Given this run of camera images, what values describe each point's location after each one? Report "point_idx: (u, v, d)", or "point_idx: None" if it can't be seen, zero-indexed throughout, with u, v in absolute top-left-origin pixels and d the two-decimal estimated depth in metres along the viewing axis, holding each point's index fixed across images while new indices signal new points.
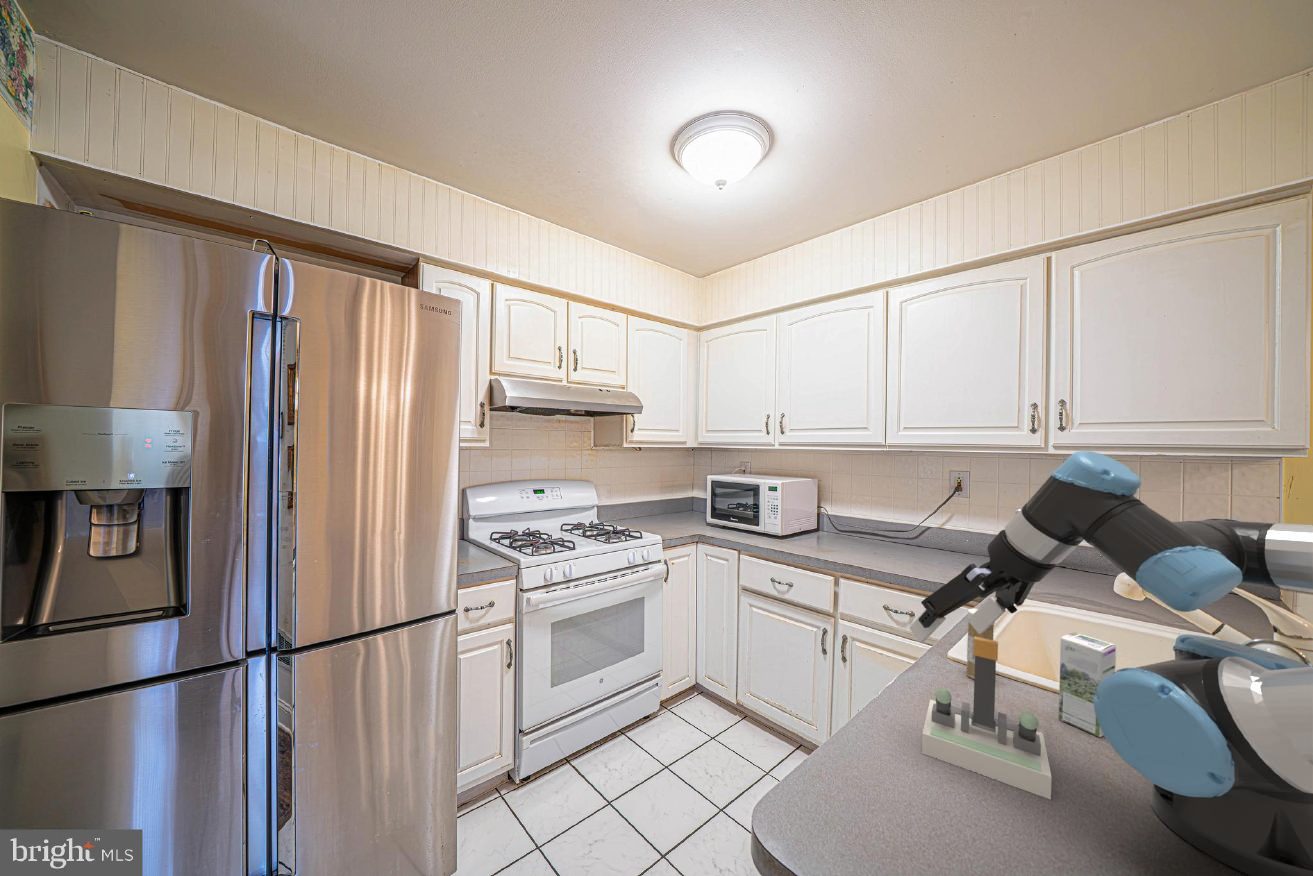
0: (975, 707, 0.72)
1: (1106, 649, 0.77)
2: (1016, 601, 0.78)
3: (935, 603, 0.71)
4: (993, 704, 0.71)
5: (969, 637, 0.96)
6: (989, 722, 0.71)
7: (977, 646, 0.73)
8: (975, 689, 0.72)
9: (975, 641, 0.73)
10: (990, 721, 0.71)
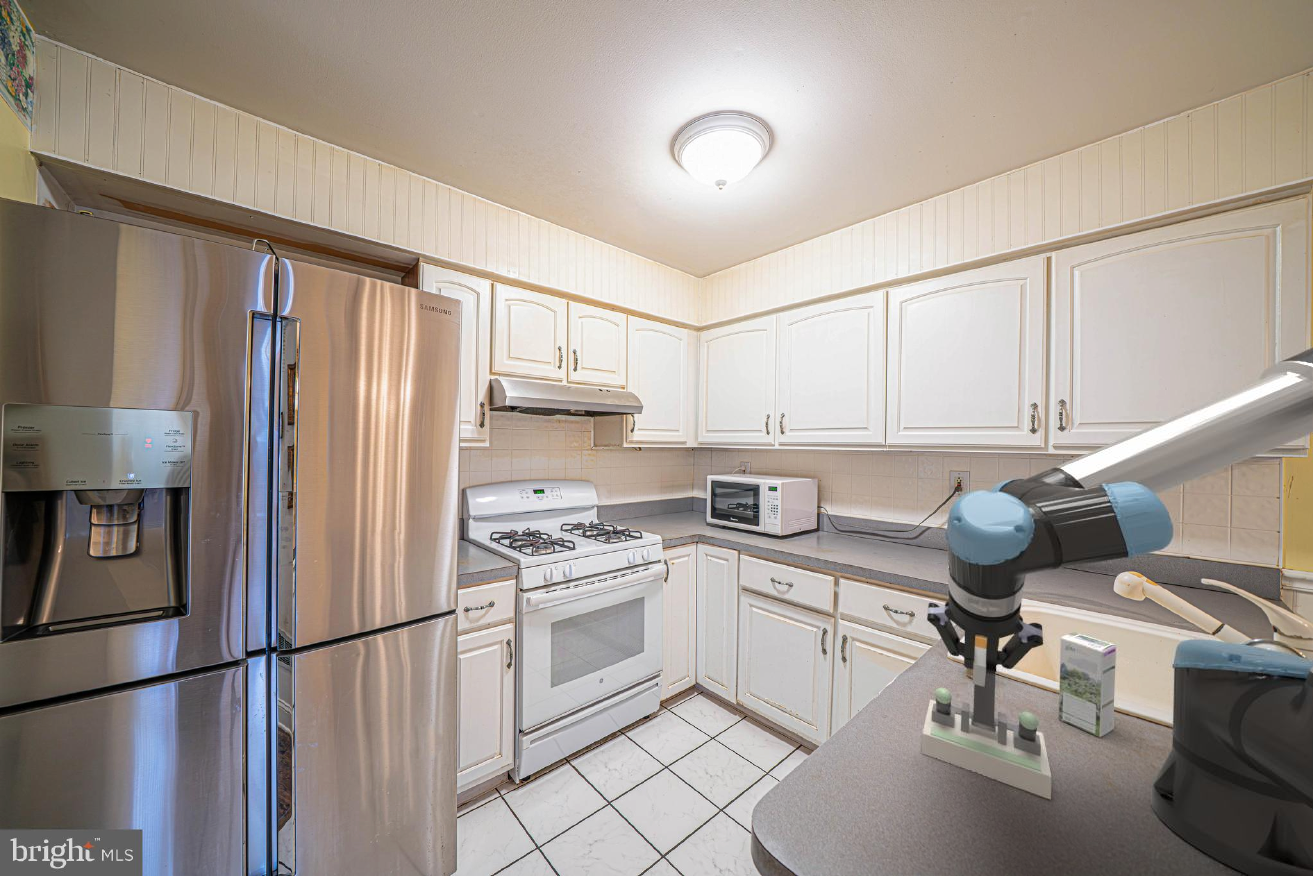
0: (975, 706, 0.72)
1: (1106, 649, 0.77)
2: None
3: None
4: (993, 702, 0.71)
5: None
6: (989, 721, 0.71)
7: (977, 644, 0.74)
8: (975, 687, 0.73)
9: (975, 639, 0.74)
10: (990, 720, 0.71)
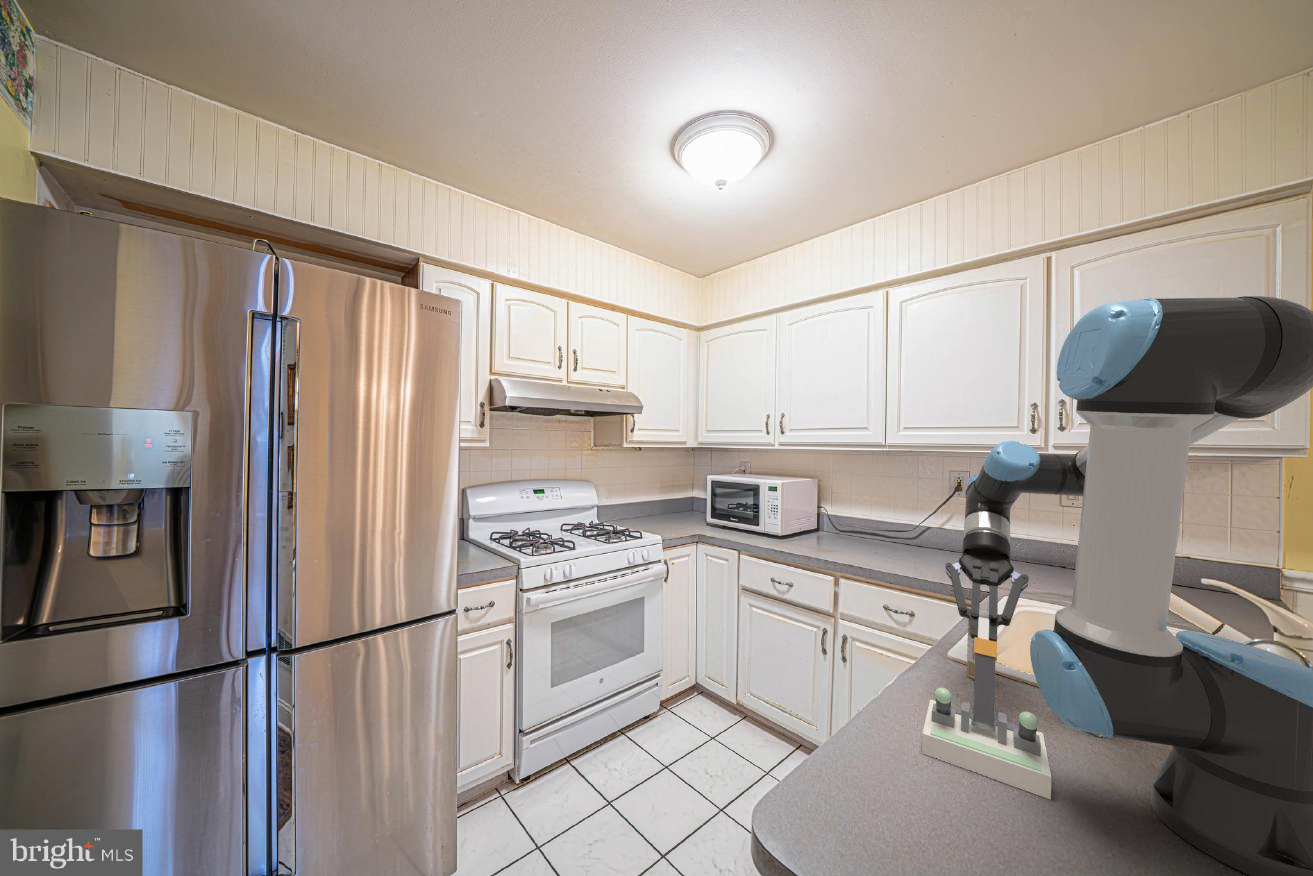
0: (975, 704, 0.73)
1: None
2: None
3: (957, 604, 0.85)
4: (993, 700, 0.72)
5: (969, 637, 0.96)
6: (989, 719, 0.71)
7: (977, 643, 0.76)
8: (975, 686, 0.74)
9: (975, 639, 0.77)
10: (990, 718, 0.71)
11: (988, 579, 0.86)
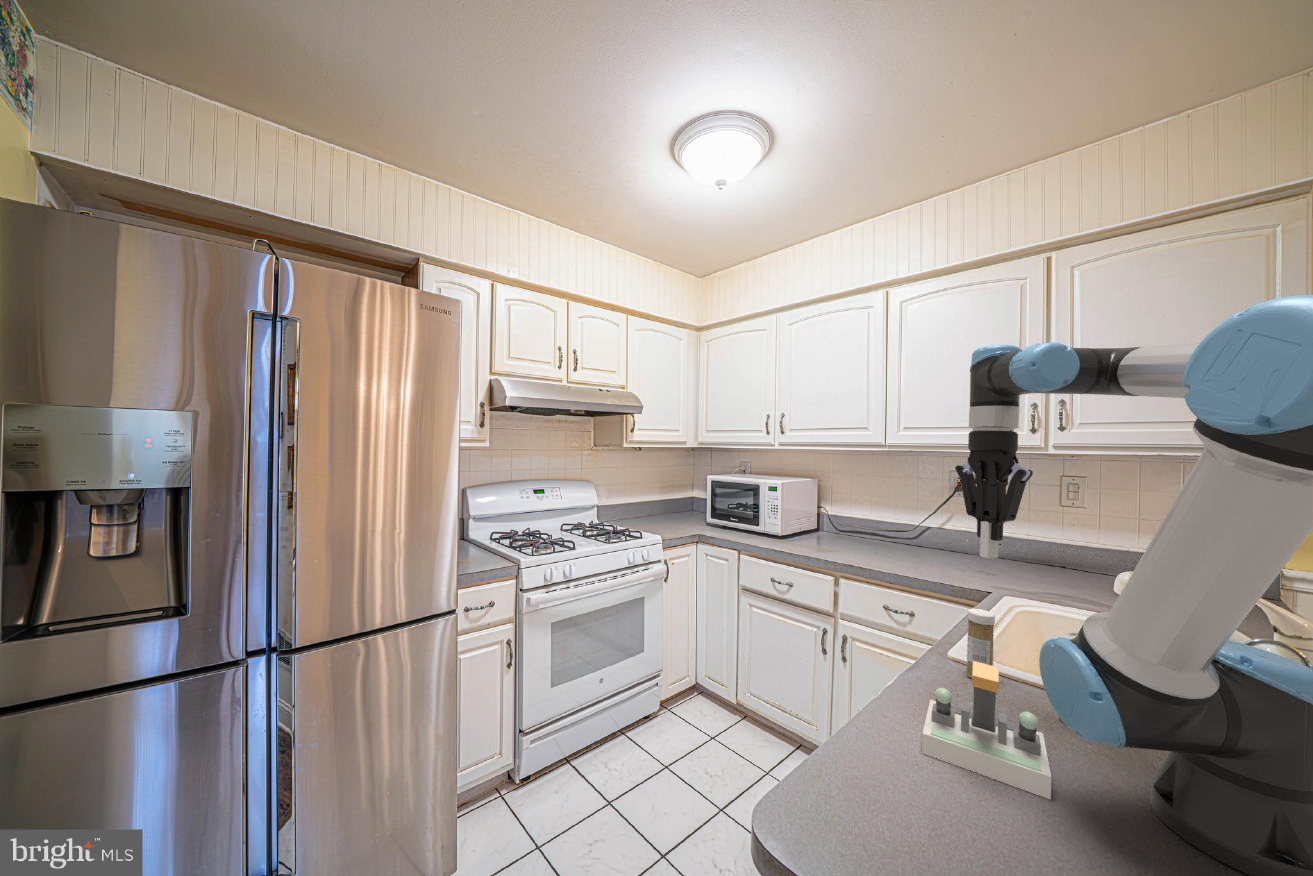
0: (975, 718, 0.71)
1: None
2: (999, 515, 0.85)
3: None
4: (993, 718, 0.69)
5: (969, 637, 0.96)
6: (989, 728, 0.70)
7: (976, 680, 0.67)
8: (974, 707, 0.70)
9: (973, 677, 0.67)
10: (990, 728, 0.70)
11: None
